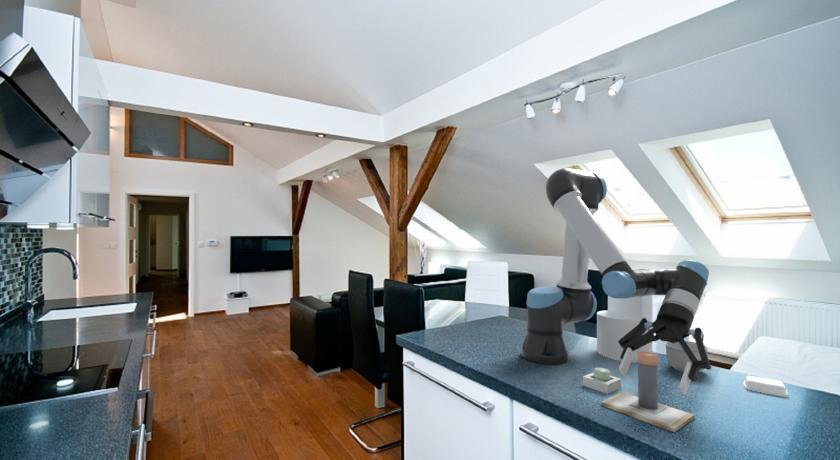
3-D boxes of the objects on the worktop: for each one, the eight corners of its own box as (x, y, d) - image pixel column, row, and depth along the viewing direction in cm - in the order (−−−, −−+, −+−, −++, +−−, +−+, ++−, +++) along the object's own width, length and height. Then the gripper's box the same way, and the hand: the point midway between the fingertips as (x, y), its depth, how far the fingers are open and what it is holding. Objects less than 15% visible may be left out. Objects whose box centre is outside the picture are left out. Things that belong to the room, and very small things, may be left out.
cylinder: (628, 346, 145) (628, 272, 145) (665, 361, 128) (665, 277, 128) (586, 348, 142) (586, 272, 142) (618, 363, 125) (618, 277, 125)
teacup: (715, 377, 113) (715, 350, 113) (674, 374, 115) (674, 348, 115) (691, 362, 127) (691, 338, 127) (655, 360, 129) (655, 336, 129)
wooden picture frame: (600, 405, 94) (600, 400, 94) (623, 394, 100) (623, 390, 100) (674, 432, 81) (674, 427, 81) (694, 418, 87) (694, 413, 87)
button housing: (582, 385, 106) (582, 376, 106) (596, 380, 110) (596, 371, 110) (607, 394, 101) (607, 384, 101) (620, 387, 105) (621, 378, 105)
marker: (634, 404, 92) (634, 353, 92) (642, 400, 94) (642, 350, 94) (653, 411, 88) (653, 358, 89) (661, 406, 91) (661, 354, 91)
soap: (744, 390, 105) (743, 379, 105) (742, 383, 110) (742, 373, 110) (789, 399, 99) (789, 388, 99) (785, 391, 104) (785, 380, 104)
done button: (590, 380, 106) (590, 369, 106) (598, 377, 108) (598, 366, 108) (605, 385, 103) (605, 373, 103) (612, 381, 105) (612, 370, 105)
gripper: (741, 329, 92) (717, 408, 83) (633, 311, 112) (605, 373, 103) (733, 309, 89) (707, 389, 80) (624, 295, 109) (594, 357, 100)
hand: (650, 380), depth 92 cm, fingers open, 13 cm apart
